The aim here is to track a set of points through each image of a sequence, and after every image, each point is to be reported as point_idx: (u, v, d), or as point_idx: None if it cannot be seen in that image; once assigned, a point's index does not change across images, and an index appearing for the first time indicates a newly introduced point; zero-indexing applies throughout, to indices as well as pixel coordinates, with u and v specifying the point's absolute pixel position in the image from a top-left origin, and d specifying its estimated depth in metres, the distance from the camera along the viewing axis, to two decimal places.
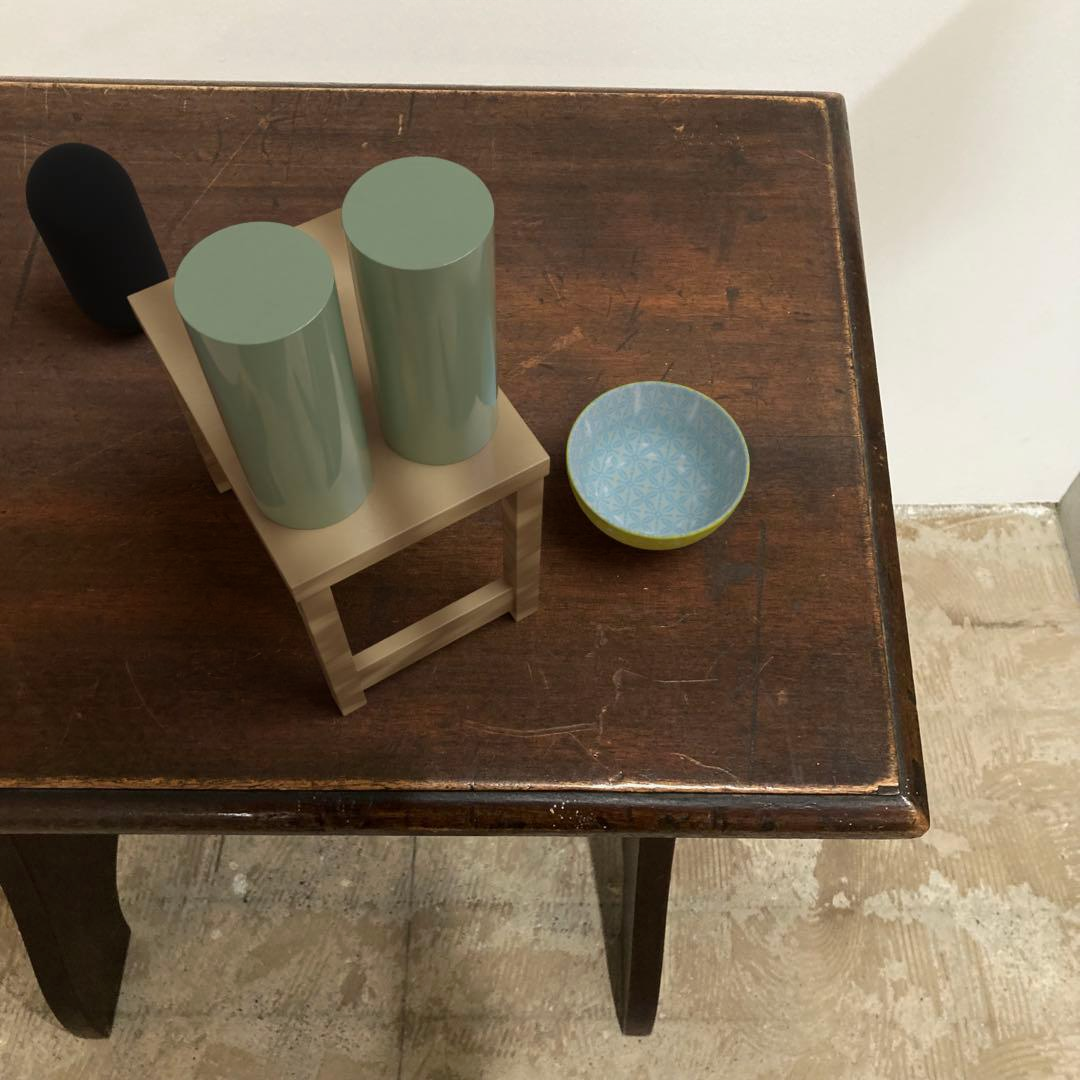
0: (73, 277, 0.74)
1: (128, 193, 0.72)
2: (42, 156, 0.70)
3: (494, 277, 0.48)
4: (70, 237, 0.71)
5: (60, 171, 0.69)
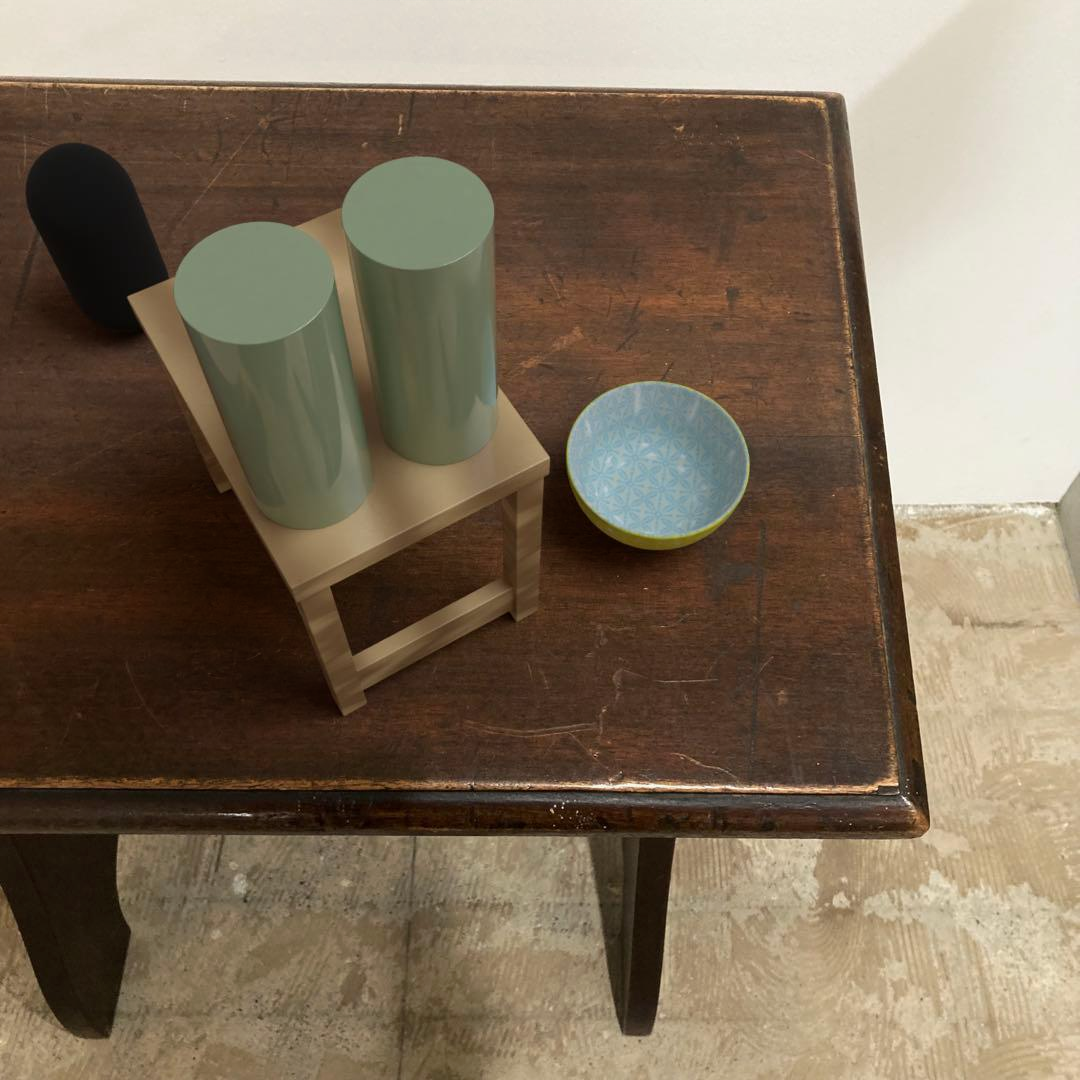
0: (73, 277, 0.74)
1: (128, 193, 0.72)
2: (42, 156, 0.70)
3: (494, 277, 0.48)
4: (70, 237, 0.71)
5: (60, 171, 0.69)
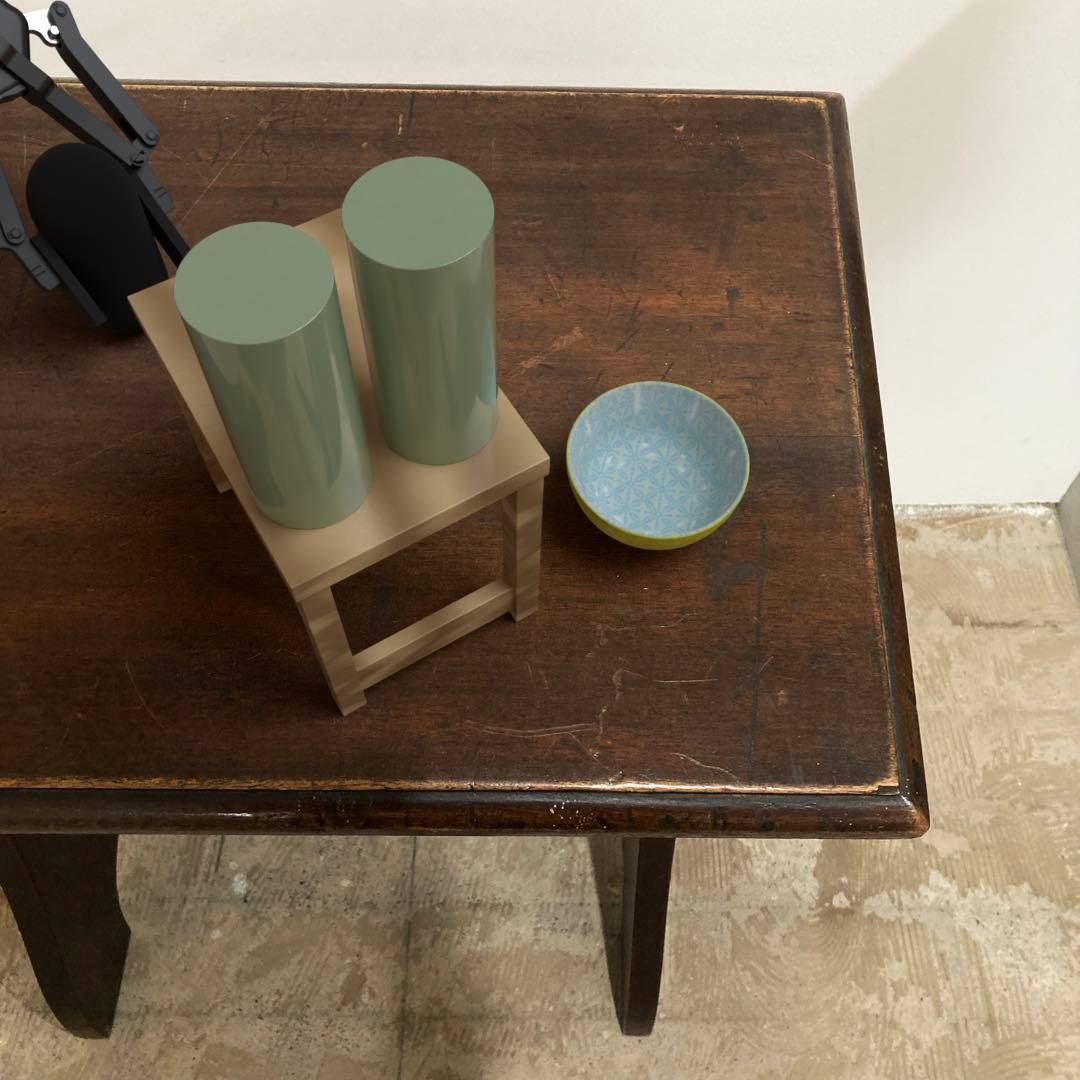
0: None
1: (128, 193, 0.72)
2: (42, 156, 0.70)
3: (494, 277, 0.48)
4: (71, 237, 0.71)
5: (60, 170, 0.69)
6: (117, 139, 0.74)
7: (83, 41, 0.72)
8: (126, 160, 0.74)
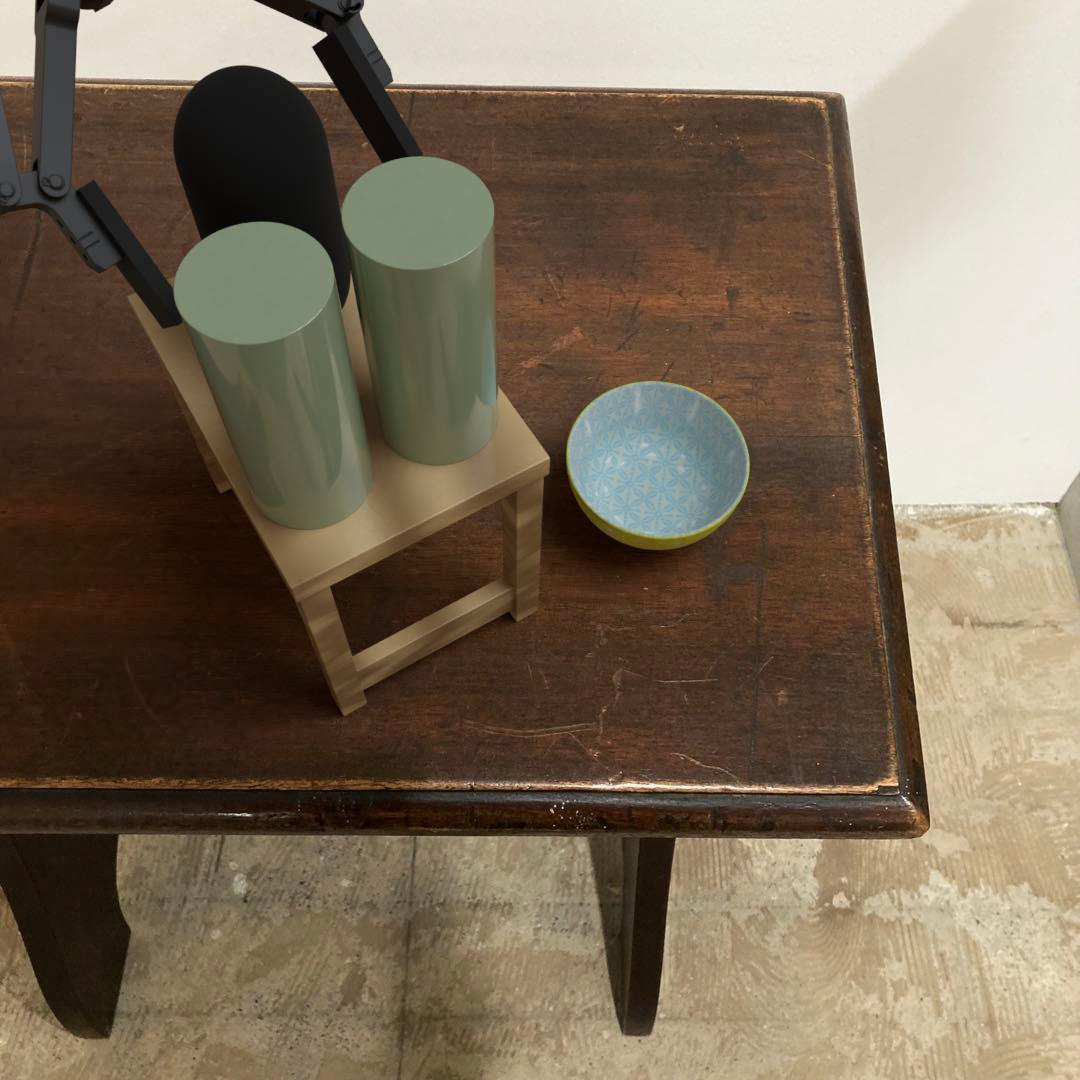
0: None
1: (321, 140, 0.49)
2: (202, 83, 0.47)
3: (494, 277, 0.48)
4: (241, 204, 0.48)
5: (232, 104, 0.46)
6: None
7: None
8: (335, 10, 0.51)
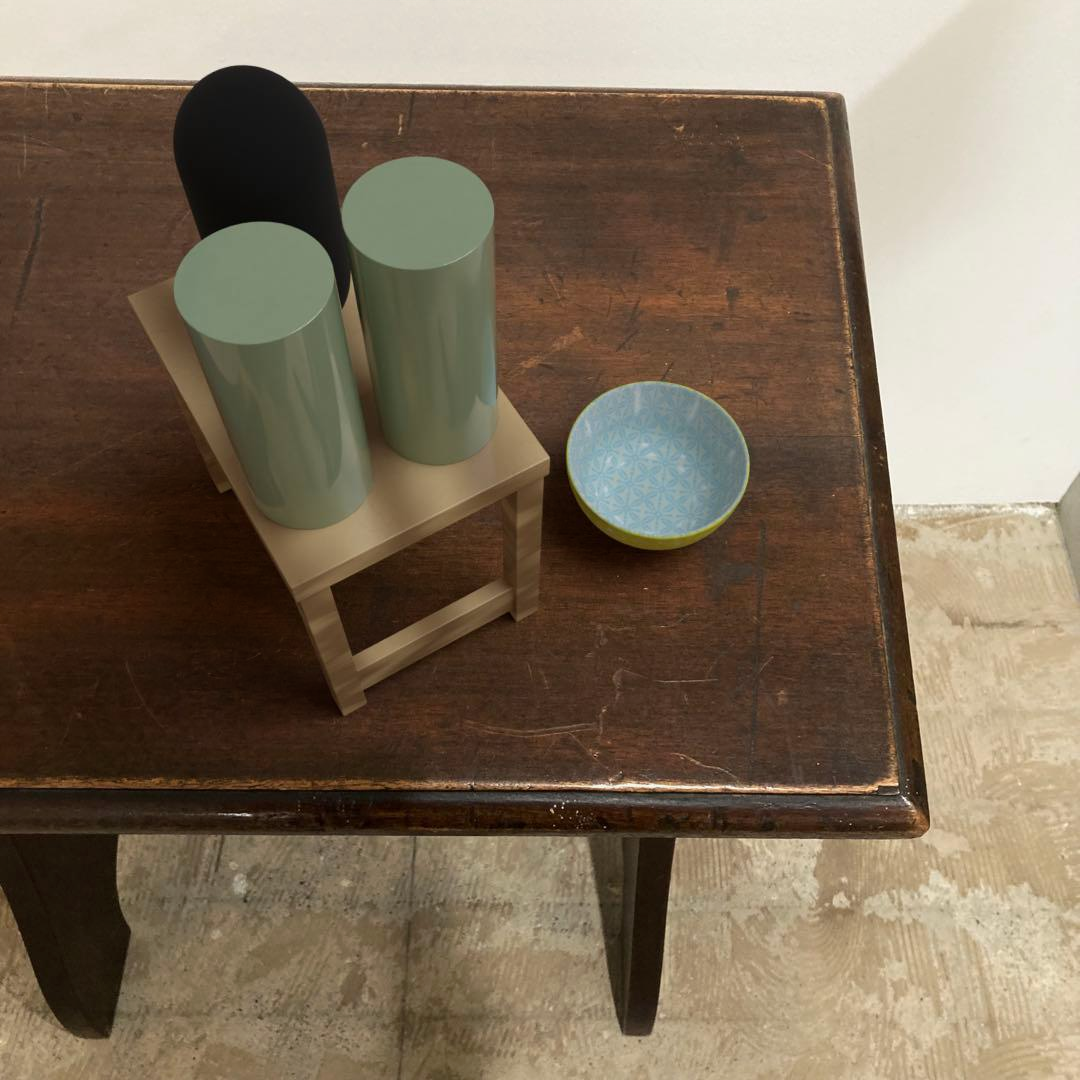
0: None
1: (321, 140, 0.49)
2: (202, 83, 0.47)
3: (494, 277, 0.48)
4: (241, 204, 0.48)
5: (232, 104, 0.46)
6: None
7: None
8: None
